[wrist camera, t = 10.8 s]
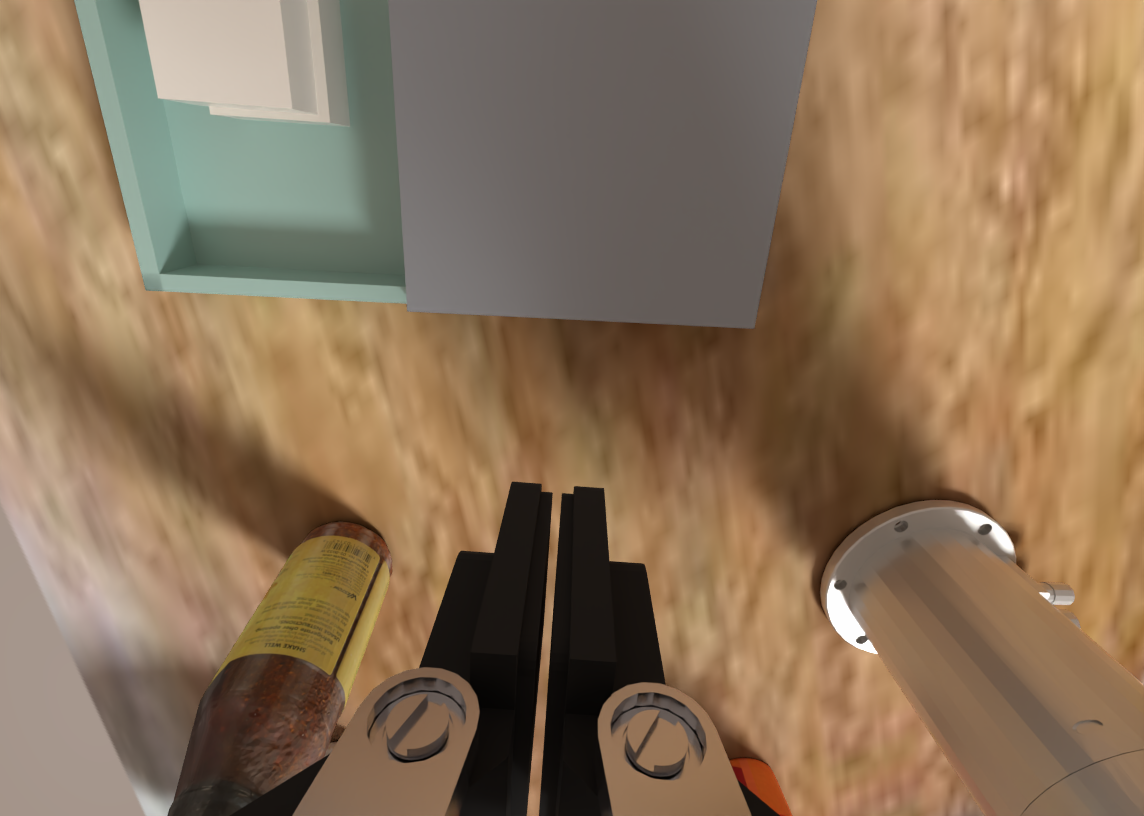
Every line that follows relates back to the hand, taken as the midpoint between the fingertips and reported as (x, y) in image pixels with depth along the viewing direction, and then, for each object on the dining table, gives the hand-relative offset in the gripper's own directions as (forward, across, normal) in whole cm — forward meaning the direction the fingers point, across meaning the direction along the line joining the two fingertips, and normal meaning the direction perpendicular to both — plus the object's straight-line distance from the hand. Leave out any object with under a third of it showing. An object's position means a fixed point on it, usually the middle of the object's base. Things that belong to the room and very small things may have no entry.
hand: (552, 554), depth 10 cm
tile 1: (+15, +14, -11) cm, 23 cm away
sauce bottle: (+22, +13, +17) cm, 31 cm away
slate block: (+21, 0, -11) cm, 24 cm away
